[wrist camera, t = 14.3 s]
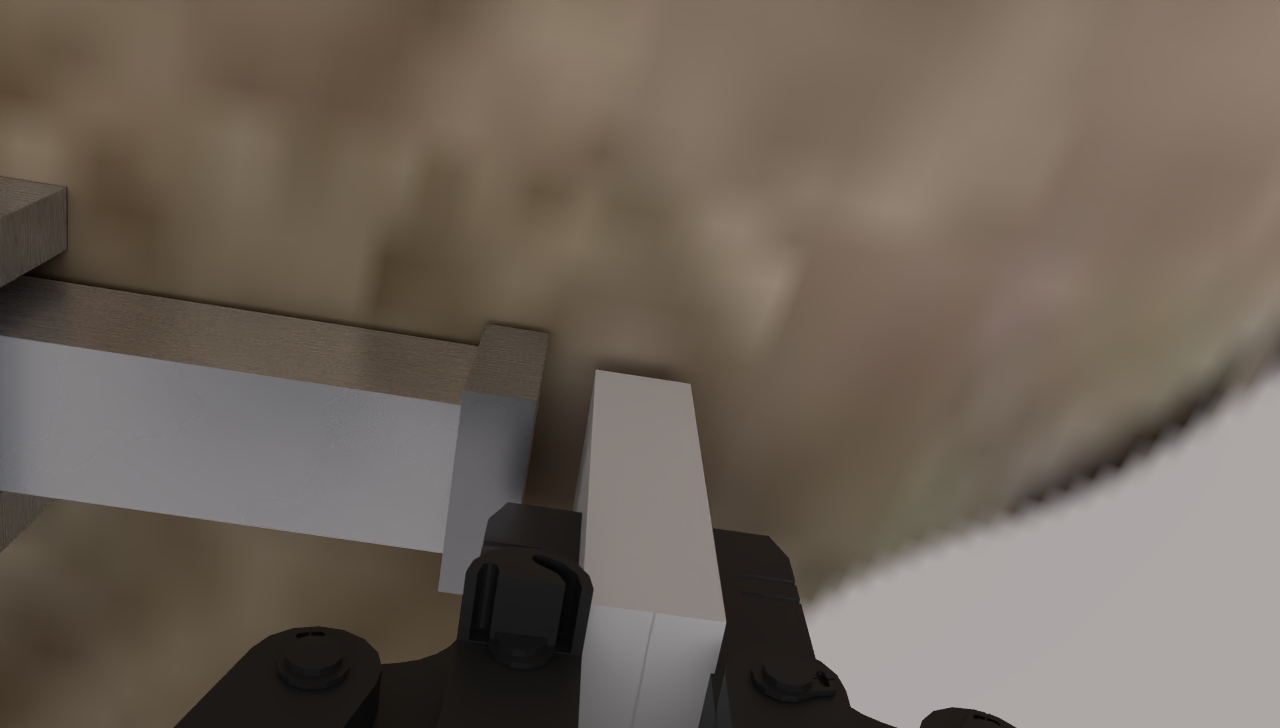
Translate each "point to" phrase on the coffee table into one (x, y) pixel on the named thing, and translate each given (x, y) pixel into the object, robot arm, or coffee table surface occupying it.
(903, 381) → the coffee table surface
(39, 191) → the pin guide
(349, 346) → the lock pin
